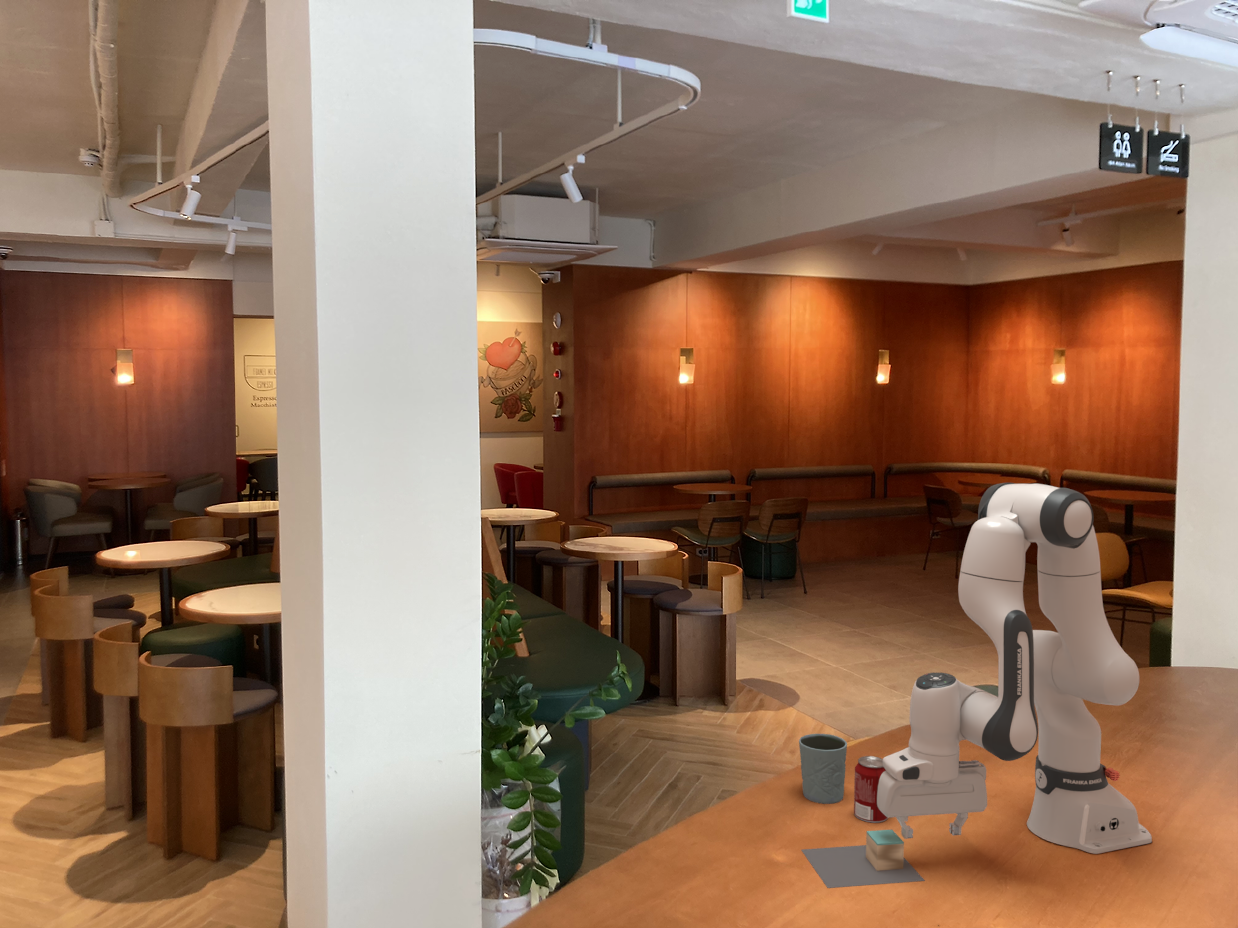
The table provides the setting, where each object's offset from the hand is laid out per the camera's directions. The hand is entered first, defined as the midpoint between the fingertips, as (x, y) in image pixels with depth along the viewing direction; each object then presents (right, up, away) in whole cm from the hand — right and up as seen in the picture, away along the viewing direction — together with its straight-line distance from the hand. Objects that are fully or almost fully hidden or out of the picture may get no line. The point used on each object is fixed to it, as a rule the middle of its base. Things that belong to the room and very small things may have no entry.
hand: (931, 835), depth 173 cm
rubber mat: (-13, -5, -1) cm, 14 cm away
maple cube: (-9, -5, -1) cm, 10 cm away
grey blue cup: (-14, -3, +30) cm, 33 cm away
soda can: (-6, -4, +19) cm, 20 cm away
